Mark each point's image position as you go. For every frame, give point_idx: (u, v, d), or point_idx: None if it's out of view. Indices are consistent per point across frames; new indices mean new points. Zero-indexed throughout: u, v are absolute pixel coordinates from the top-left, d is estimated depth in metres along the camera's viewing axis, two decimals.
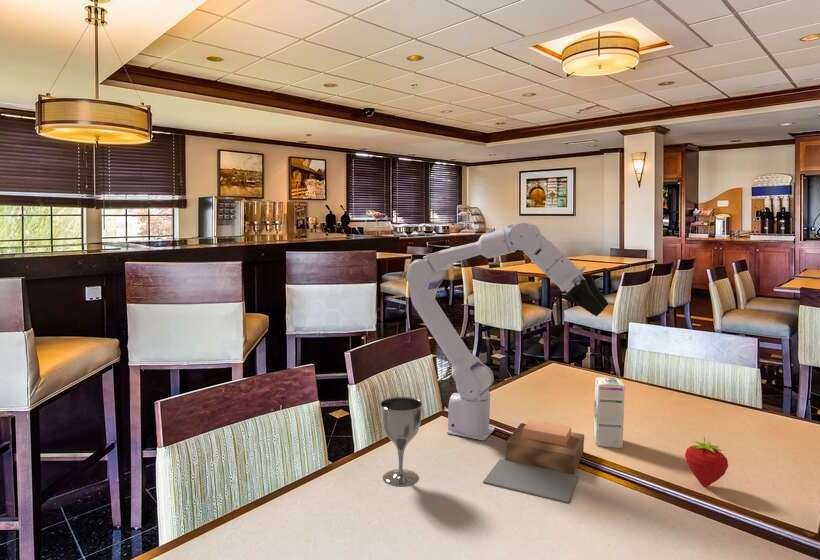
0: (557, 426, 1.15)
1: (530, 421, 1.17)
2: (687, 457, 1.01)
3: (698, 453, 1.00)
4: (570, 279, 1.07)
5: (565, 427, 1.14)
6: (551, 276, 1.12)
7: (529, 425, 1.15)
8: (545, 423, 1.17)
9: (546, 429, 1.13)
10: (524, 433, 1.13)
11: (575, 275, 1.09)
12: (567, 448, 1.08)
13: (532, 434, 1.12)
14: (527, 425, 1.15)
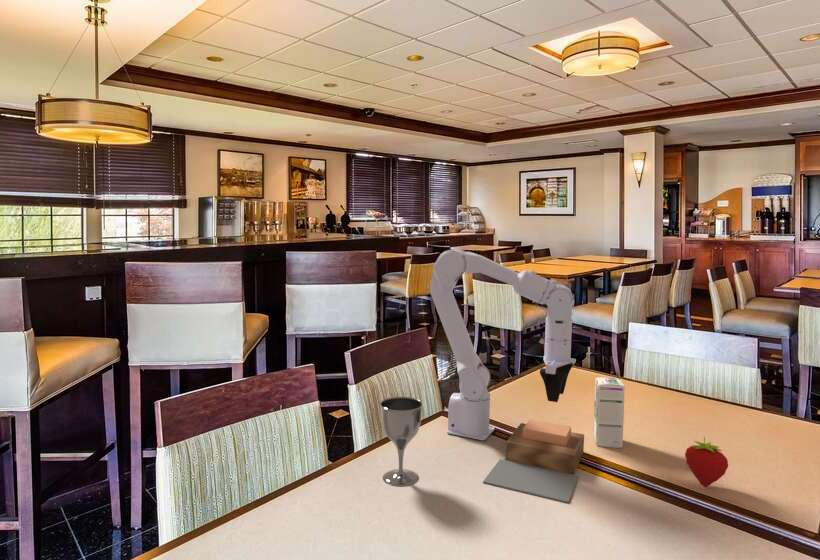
0: (557, 426, 1.15)
1: (530, 421, 1.17)
2: (687, 457, 1.01)
3: (698, 453, 1.00)
4: (556, 366, 1.14)
5: (565, 427, 1.14)
6: (547, 345, 1.18)
7: (529, 425, 1.15)
8: (545, 423, 1.17)
9: (546, 429, 1.13)
10: (524, 433, 1.13)
11: (563, 364, 1.16)
12: (567, 448, 1.08)
13: (532, 434, 1.12)
14: (527, 425, 1.15)
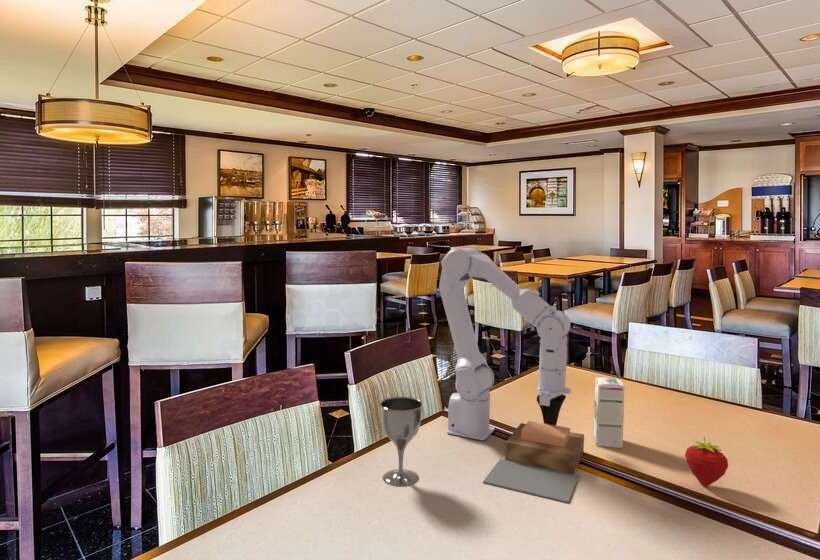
0: (556, 427, 1.14)
1: (529, 422, 1.16)
2: (687, 457, 1.01)
3: (698, 453, 1.00)
4: (551, 397, 1.10)
5: (564, 428, 1.13)
6: (541, 374, 1.14)
7: (528, 427, 1.14)
8: (544, 424, 1.16)
9: (545, 431, 1.12)
10: (523, 434, 1.12)
11: (557, 394, 1.12)
12: (567, 448, 1.08)
13: (530, 435, 1.12)
14: (526, 426, 1.14)
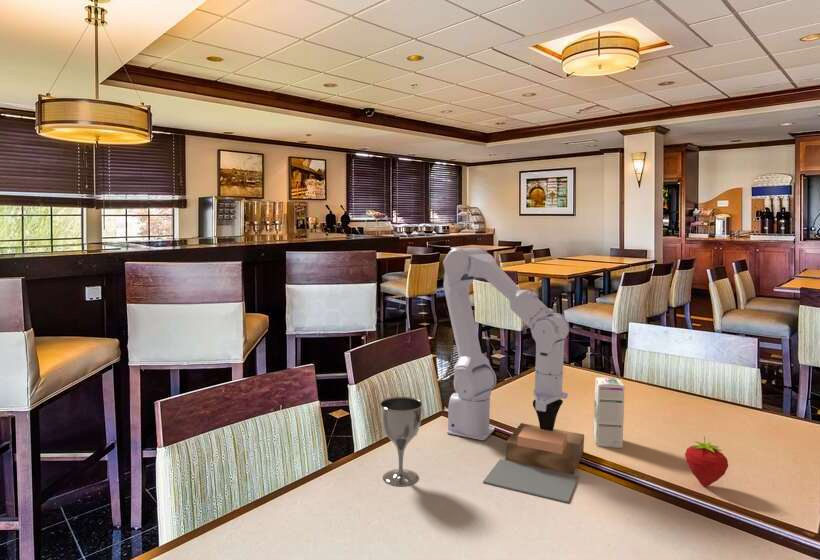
0: (553, 433, 1.11)
1: (525, 428, 1.13)
2: (687, 457, 1.01)
3: (698, 453, 1.00)
4: (547, 402, 1.07)
5: (561, 434, 1.10)
6: (537, 378, 1.11)
7: (524, 433, 1.11)
8: (540, 430, 1.13)
9: (542, 437, 1.09)
10: (519, 441, 1.09)
11: (554, 399, 1.09)
12: (567, 448, 1.08)
13: (527, 441, 1.08)
14: (522, 432, 1.11)
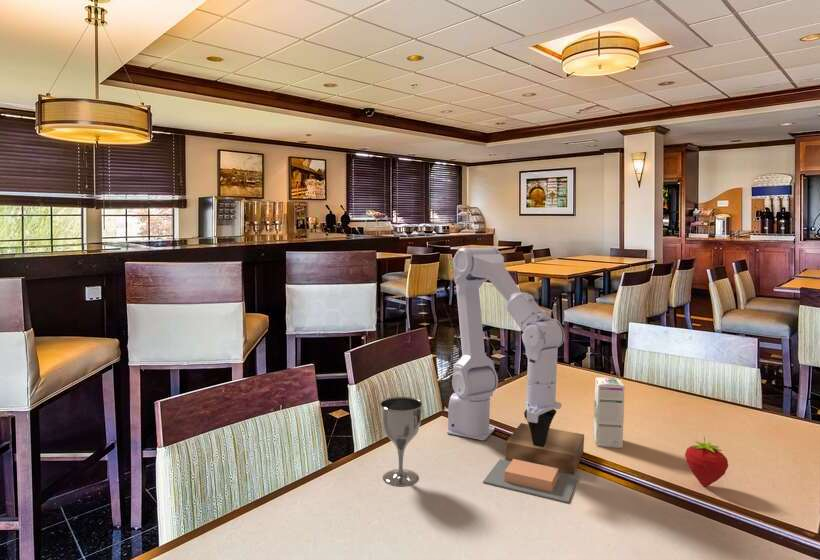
0: None
1: None
2: (687, 457, 1.01)
3: (698, 453, 1.00)
4: (539, 413, 1.01)
5: None
6: (529, 387, 1.05)
7: None
8: None
9: None
10: None
11: (546, 410, 1.02)
12: (567, 448, 1.08)
13: None
14: None
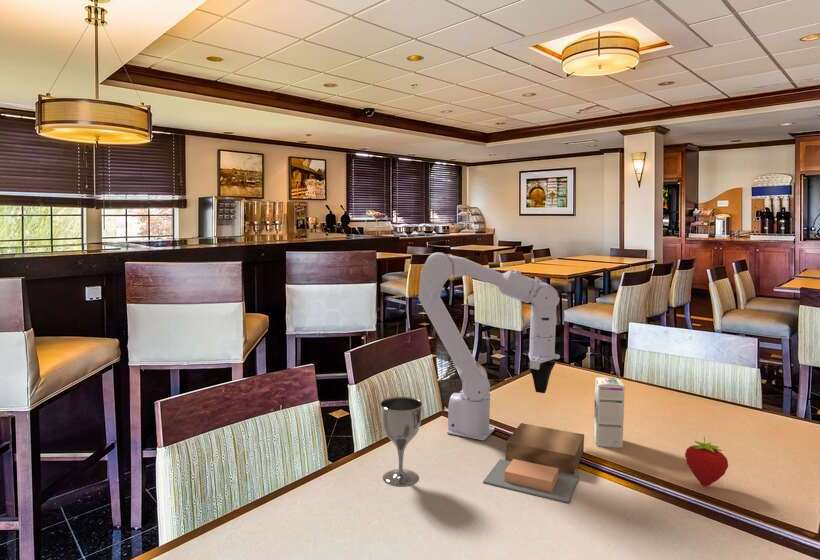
0: None
1: None
2: (687, 457, 1.01)
3: (698, 453, 1.00)
4: (540, 361, 1.17)
5: None
6: (531, 341, 1.22)
7: None
8: None
9: None
10: None
11: (547, 359, 1.19)
12: (567, 448, 1.08)
13: None
14: None
